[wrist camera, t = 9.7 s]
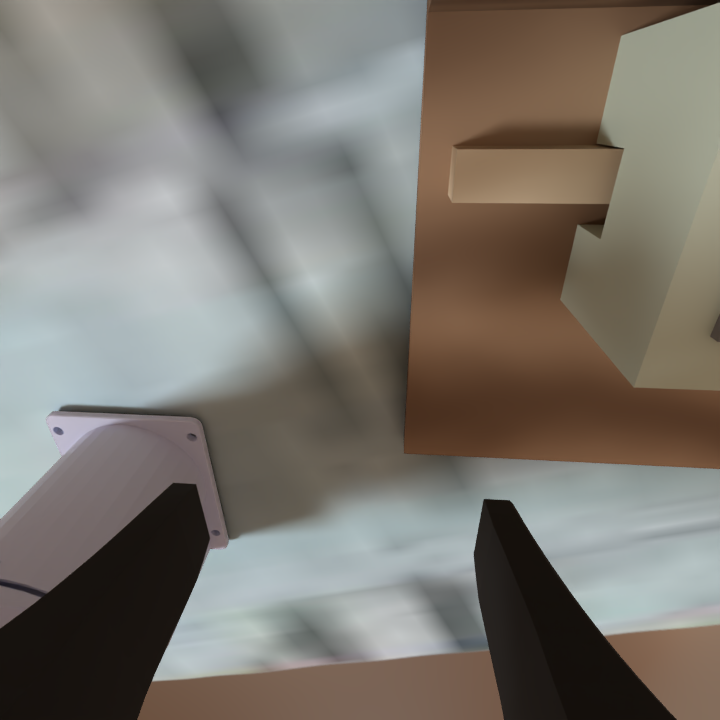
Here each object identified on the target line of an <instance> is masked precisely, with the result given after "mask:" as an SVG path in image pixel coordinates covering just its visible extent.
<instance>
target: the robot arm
mask: <svg viewBox="0 0 720 720" xmlns="http://www.w3.org/2000/svg"><path fill="white" fill-rule="evenodd" d="M46 423H47V425H48V427H49V430H50V432H51V434H52V436H53V438H54V441H55V443H56V445H57V447H58V450H59V452H60V454H61V456H62V457H61V458H60V459H59V460H58V461H57V462H56V463H55V464H54V465H53V466H52V467H51V468H50V469H49V470H48V471H47V472H46V473H45V474H44V475H43V476H42V477H41V478H40V479H39V480H38V481H37V482H36V484H35V485H34V486H33V487H32V488H31V489H30V490H29V491H28V492H27V493H26V494H25V495H24V496H23V497H22V498H21V499H20V500H19V501H18V502H17V503H16V504H15V505H14V506H13V507H12V508H11V509H10V510H9V511H8V512H7V513H6V514H5V515H4V516H3V517H2V518H1V519H0V720H137V718H138V716H139V713H140V710H141V707H142V704H143V702H144V699H145V696H146V694H147V691H148V689H149V686H150V684H151V682H152V679H153V677H154V674H155V672H156V670H157V668H158V665H159V663H160V661H161V659H162V657H163V654H164V652H165V650H166V648H167V646H168V644H169V642H170V640H171V638H172V635H173V633H174V631H175V629H176V626H177V624H178V622H179V619H180V617H181V615H182V613H183V610H184V608H185V606H186V604H187V601H188V599H189V597H190V595H191V592H192V590H193V588H194V586H195V583H196V581H197V579H198V576H199V573H200V571H201V569H202V566H203V564H204V562H205V560H206V557H207V555H208V553H209V550H210V549H224V548H226V547H227V545H228V543H229V538H228V534H227V530H226V525H225V521H224V517H223V512H222V508H221V504H220V499H219V495H218V491H217V486H216V482H215V478H214V474H213V469H212V465H211V461H210V456H209V452H208V448H207V443H206V439H205V435H204V430H203V426H202V424H201V422H200V421H199V420H198V419H196V418H193V417H178V416H156V415H133V414H111V413H88V412H66V411H53V412H52V413H50V414H49V415H48V416H47V417H46ZM191 433H192V434H194V435H196V436H193V435H191ZM474 562H475V572H476V581H477V589H478V598H479V603H480V608H481V612H482V617H483V622H484V627H485V631H486V636H487V640H488V645H489V650H490V654H491V659H492V663H493V668H494V673H495V677H496V682H497V687H498V691H499V695H500V700H501V705H502V710H503V716H504V720H677V719H676V718H675V717H674V716H673V715H672V714H671V713H670V712H669V711H668V710H667V709H666V708H665V707H664V706H663V704H662V703H661V702H660V701H659V700H658V699H657V698H656V697H655V695H654V694H653V693H652V692H651V691H650V690H649V689H648V688H647V687H646V685H645V684H644V683H643V682H642V681H641V680H640V679H639V678H638V676H637V675H636V674H635V673H634V672H633V671H632V669H631V668H630V667H629V666H628V665H627V664H626V662H625V661H624V660H623V659H622V658H621V657H620V655H619V654H618V653H617V652H616V651H615V649H614V648H613V647H612V646H611V645H610V643H609V642H608V641H607V640H606V638H605V637H604V636H603V634H602V633H601V632H600V631H599V629H598V628H597V627H596V626H595V624H594V623H593V622H592V620H591V619H590V618H589V616H588V615H587V614H586V613H585V611H584V610H583V609H582V607H581V606H580V605H579V603H578V602H577V601H576V599H575V598H574V597H573V595H572V594H571V592H570V591H569V590H568V588H567V587H566V585H565V584H564V582H563V581H562V580H561V578H560V577H559V575H558V574H557V572H556V571H555V570H554V568H553V567H552V565H551V564H550V562H549V561H548V559H547V558H546V556H545V555H544V553H543V552H542V550H541V549H540V547H539V546H538V544H537V543H536V541H535V539H534V538H533V536H532V535H531V533H530V531H529V530H528V528H527V527H526V525H525V523H524V522H523V520H522V518H521V517H520V515H519V513H518V512H517V510H516V508H515V506H514V505H513V503H512V502H511V501H510V500H491V499H484V501H483V506H482V512H481V517H480V523H479V528H478V534H477V539H476V545H475V550H474Z"/></svg>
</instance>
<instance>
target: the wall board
mask: <svg viewBox="0 0 720 720" xmlns="http://www.w3.org/2000/svg"><path fill="white" fill-rule="evenodd" d="M717 3H720V0H427V18H426V37H425V56H424V74H423V93H422V112H421V130H420V149H419V168H418V187H417V205H416V224H415V243H414V262H413V280H412V299H411V318H410V336H409V355H408V374H407V393H406V411H405V430H404V453H407V454H427V455H447V456H468V457H488V458H509V459H529V460H549V461H570V462H590V463H611V464H631V465H652V466H672V467H692V468H713V469H720V391H716V390H689V389H661V388H634V387H633V386H632V385H631V384H630V382H629V381H628V380H627V379H626V378H625V377H624V375H623V374H622V373H621V372H620V371H619V369H618V368H617V367H616V366H615V365H614V363H613V362H612V361H611V360H610V359H609V357H608V356H607V355H606V354H605V353H604V351H603V350H602V349H601V348H600V347H599V345H598V344H597V343H596V342H595V341H594V339H593V338H592V337H591V336H590V335H589V334H588V332H587V331H586V330H585V329H584V328H583V326H582V325H581V324H580V323H579V322H578V320H577V319H576V318H575V317H574V316H573V314H572V313H571V312H570V311H569V310H568V308H567V307H566V306H565V305H564V304H563V302H562V301H561V300H560V298H561V294H562V290H563V285H564V281H565V277H566V273H567V268H568V264H569V260H570V255H571V251H572V247H573V242H574V238H575V234H576V229H577V225H604V224H605V220H606V216H607V212H608V209H609V205H610V201H611V197H612V193H613V189H614V186H615V182H616V178H617V174H618V170H619V166H620V163H621V159H622V155H623V151H624V148H620V147H614V146H608V145H603V144H597V138H598V134H599V130H600V125H601V121H602V117H603V112H604V108H605V104H606V99H607V95H608V91H609V86H610V82H611V78H612V74H613V69H614V65H615V61H616V56H617V52H618V48H619V43H620V39H621V36H622V35H625V34H628V33H631V32H634V31H637V30H640V29H643V28H646V27H648V26H651V25H654V24H657V23H660V22H663V21H666V20H669V19H672V18H675V17H678V16H681V15H684V14H687V13H690V12H693V11H696V10H699V9H702V8H705V7H708V6H711V5H714V4H717Z"/></svg>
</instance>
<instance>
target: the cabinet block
mask: <svg viewBox="0 0 720 720" xmlns="http://www.w3.org/2000/svg"><path fill="white" fill-rule="evenodd" d="M597 144H603V145H608V146H614V147H620V148H624V151H623V155H622V159H621V163H620V166H619V170H618V174H617V178H616V182H615V186H614V189H613V193H612V197H611V201H610V205H609V209H608V212H607V216H606V220H605V224H604V225H577V229H576V234H575V238H574V242H573V247H572V251H571V255H570V260H569V264H568V268H567V273H566V277H565V281H564V285H563V290H562V294H561V298H560V300H561V301H562V302H563V304H564V305H565V306H566V307H567V308H568V310H569V311H570V312H571V313H572V314H573V316H574V317H575V318H576V319H577V320H578V322H579V323H580V324H581V325H582V326H583V328H584V329H585V330H586V331H587V332H588V334H589V335H590V336H591V337H592V338H593V339H594V341H595V342H596V343H597V344H598V345H599V347H600V348H601V349H602V350H603V351H604V353H605V354H606V355H607V356H608V357H609V359H610V360H611V361H612V362H613V363H614V365H615V366H616V367H617V368H618V369H619V371H620V372H621V373H622V374H623V375H624V377H625V378H626V379H627V380H628V381H629V382H630V384H631V385H632V386H633V387H634V388H661V389H689V390H716V391H720V3H717V4H714V5H711V6H708V7H705V8H702V9H699V10H696V11H693V12H690V13H687V14H684V15H681V16H678V17H675V18H672V19H669V20H666V21H663V22H660V23H657V24H654V25H651V26H648V27H646V28H643V29H640V30H637V31H634V32H631V33H628V34H625V35H622V36H621V39H620V43H619V48H618V52H617V56H616V61H615V65H614V69H613V74H612V78H611V82H610V86H609V91H608V95H607V99H606V104H605V108H604V112H603V117H602V121H601V125H600V130H599V134H598V138H597Z"/></svg>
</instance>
